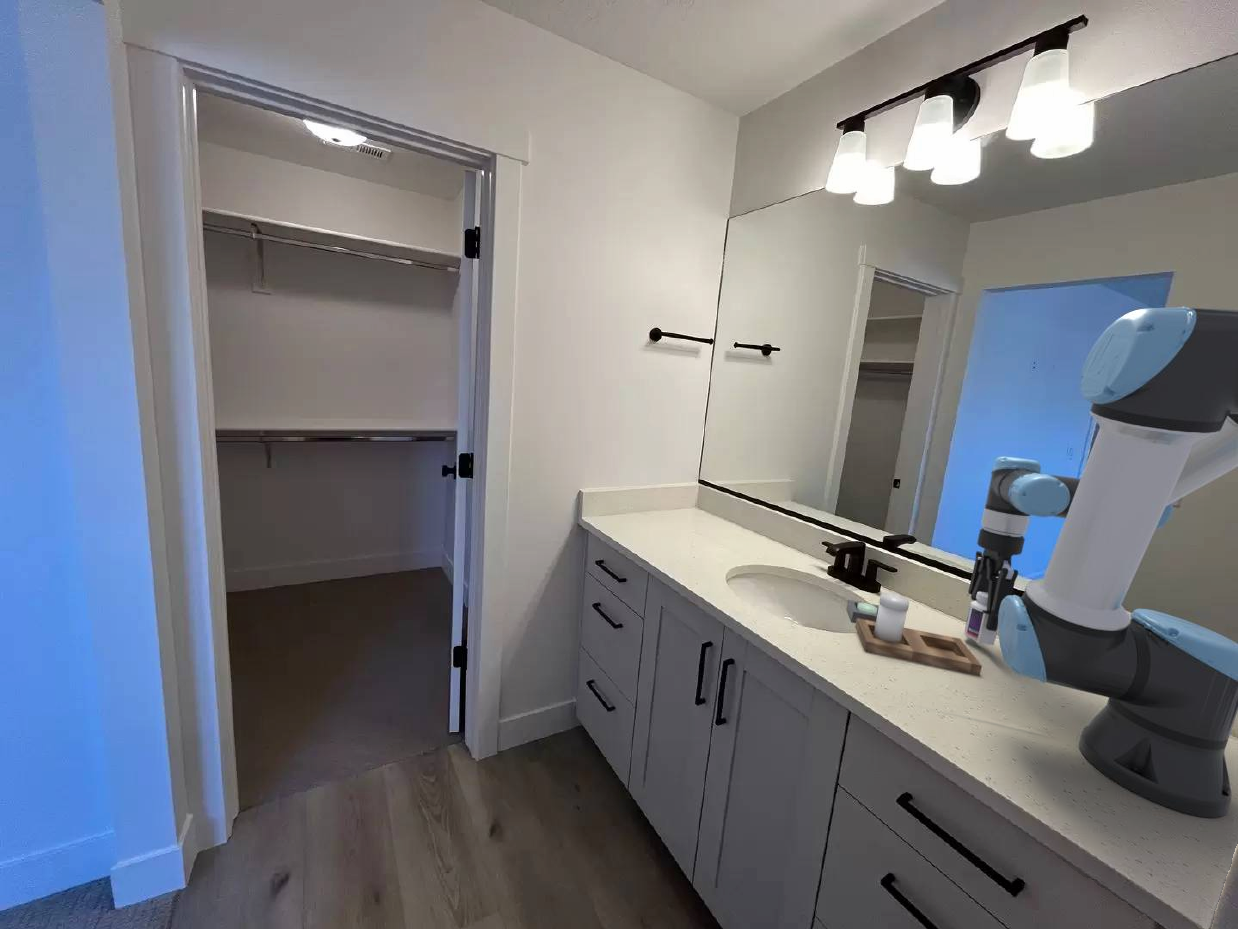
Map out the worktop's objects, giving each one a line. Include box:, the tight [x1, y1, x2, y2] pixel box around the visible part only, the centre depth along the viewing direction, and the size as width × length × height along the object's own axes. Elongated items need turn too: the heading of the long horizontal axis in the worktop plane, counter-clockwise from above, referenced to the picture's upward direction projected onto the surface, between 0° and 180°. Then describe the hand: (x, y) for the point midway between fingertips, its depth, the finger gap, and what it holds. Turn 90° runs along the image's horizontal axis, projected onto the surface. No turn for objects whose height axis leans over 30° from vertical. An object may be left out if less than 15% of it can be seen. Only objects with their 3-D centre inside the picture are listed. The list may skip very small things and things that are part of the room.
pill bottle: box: [964, 592, 998, 642], centre depth 107 cm, size 5×5×10 cm
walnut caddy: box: [855, 618, 983, 676], centre depth 102 cm, size 20×11×3 cm, turn 74°
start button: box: [857, 602, 877, 614], centre depth 115 cm, size 4×4×3 cm
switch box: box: [845, 599, 879, 624], centre depth 115 cm, size 7×7×4 cm
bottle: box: [873, 592, 910, 644], centre depth 103 cm, size 5×5×10 cm
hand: (979, 636), depth 107 cm, fingers closed on pill bottle, 5 cm apart
